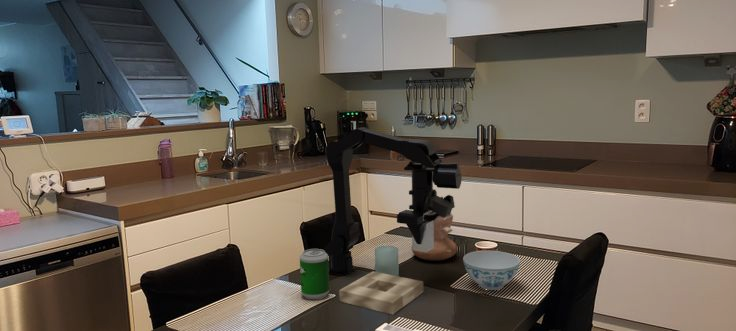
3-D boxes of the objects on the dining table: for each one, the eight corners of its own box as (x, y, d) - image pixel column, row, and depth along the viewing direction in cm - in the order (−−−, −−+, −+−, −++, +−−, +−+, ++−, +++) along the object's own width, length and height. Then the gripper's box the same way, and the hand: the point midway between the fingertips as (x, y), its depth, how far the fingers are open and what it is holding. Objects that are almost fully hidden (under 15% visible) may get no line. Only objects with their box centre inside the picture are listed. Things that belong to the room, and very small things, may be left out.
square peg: (412, 250, 144) (411, 221, 143) (419, 245, 148) (419, 218, 147) (426, 252, 142) (426, 223, 141) (433, 248, 145) (433, 220, 144)
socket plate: (339, 301, 135) (339, 290, 135) (373, 281, 148) (372, 271, 148) (392, 314, 127) (392, 302, 126) (423, 292, 140) (423, 281, 139)
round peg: (371, 277, 152) (370, 250, 151) (383, 270, 158) (382, 244, 156) (391, 281, 148) (390, 254, 147) (402, 273, 154) (402, 247, 153)
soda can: (333, 291, 142) (332, 248, 140) (322, 302, 135) (320, 257, 133) (308, 288, 144) (306, 246, 143) (296, 299, 137) (294, 255, 136)
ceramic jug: (468, 260, 164) (468, 216, 162) (431, 268, 157) (430, 222, 156) (435, 246, 180) (434, 206, 178) (399, 253, 173) (398, 211, 171)
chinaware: (473, 273, 153) (473, 247, 152) (525, 281, 145) (525, 254, 144) (455, 291, 140) (455, 263, 139) (511, 301, 133) (511, 272, 131)
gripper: (433, 195, 130) (434, 256, 132) (463, 183, 145) (463, 237, 148) (395, 191, 136) (396, 249, 138) (427, 180, 151) (428, 232, 154)
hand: (422, 241), depth 144 cm, fingers closed on square peg, 4 cm apart
